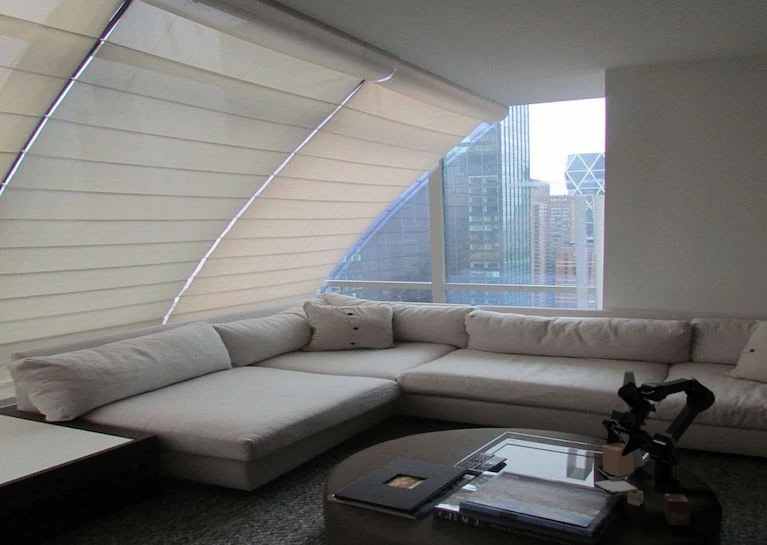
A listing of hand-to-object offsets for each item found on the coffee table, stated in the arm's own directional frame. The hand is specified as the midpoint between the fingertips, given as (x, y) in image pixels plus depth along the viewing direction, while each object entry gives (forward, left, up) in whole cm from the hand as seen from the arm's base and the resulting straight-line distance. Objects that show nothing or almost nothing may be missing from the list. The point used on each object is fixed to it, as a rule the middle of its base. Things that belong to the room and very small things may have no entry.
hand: (614, 452), depth 220 cm
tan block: (-1, 0, -7) cm, 7 cm away
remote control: (-8, -14, -13) cm, 21 cm away
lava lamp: (-22, -22, -14) cm, 34 cm away
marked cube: (-1, +10, -14) cm, 17 cm away
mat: (-3, -4, -13) cm, 14 cm away
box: (-4, +26, -14) cm, 29 cm away
